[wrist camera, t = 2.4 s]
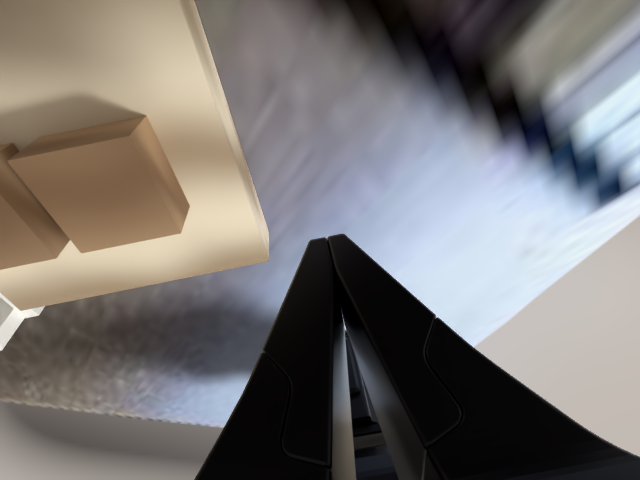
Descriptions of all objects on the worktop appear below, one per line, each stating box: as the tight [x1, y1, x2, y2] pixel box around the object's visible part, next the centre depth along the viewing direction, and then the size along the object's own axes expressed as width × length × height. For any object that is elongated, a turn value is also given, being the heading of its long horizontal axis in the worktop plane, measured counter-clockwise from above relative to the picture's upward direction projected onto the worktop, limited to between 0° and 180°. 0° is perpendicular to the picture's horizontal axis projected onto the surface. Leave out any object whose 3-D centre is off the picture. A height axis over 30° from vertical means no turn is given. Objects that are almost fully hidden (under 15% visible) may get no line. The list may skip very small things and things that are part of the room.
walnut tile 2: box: [7, 115, 190, 253], centre depth 13 cm, size 4×4×2 cm
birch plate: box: [0, 0, 269, 311], centre depth 15 cm, size 12×13×2 cm
